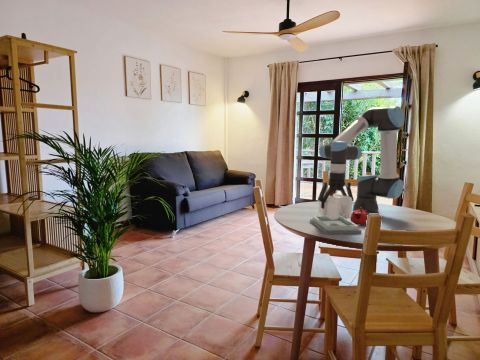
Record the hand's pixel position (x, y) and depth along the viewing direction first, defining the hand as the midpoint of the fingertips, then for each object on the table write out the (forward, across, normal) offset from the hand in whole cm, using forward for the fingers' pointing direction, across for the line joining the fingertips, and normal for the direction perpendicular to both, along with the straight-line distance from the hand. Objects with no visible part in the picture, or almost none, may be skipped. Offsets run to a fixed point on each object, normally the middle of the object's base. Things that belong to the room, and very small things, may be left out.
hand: (334, 214), depth 158 cm
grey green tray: (+7, 0, 0) cm, 7 cm away
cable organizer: (+2, 0, 0) cm, 2 cm away
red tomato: (+7, -17, -6) cm, 19 cm away
